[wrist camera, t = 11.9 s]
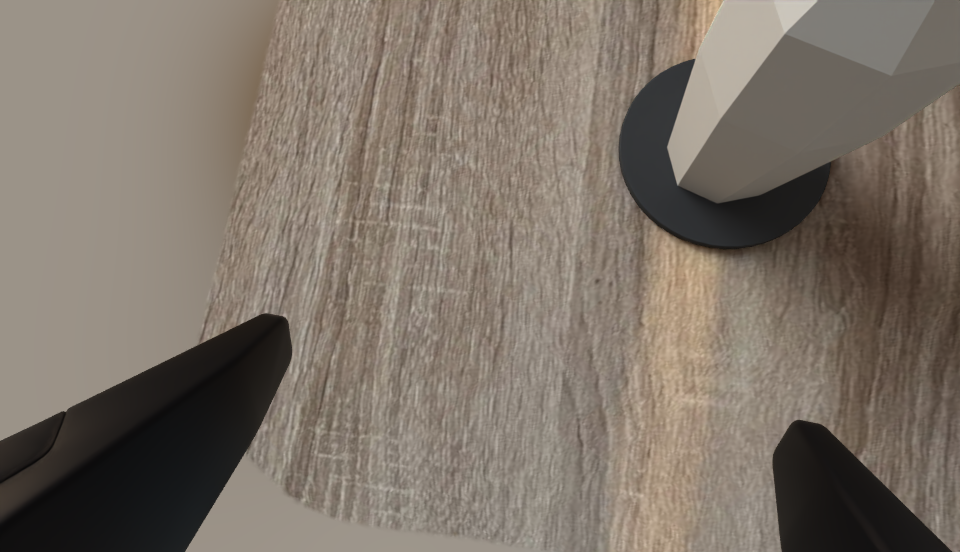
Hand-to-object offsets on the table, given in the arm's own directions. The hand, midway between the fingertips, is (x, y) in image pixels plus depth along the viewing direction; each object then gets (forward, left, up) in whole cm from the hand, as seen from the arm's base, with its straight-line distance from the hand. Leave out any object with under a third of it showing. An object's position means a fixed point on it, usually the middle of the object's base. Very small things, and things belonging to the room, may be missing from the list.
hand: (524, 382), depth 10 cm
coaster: (+13, -5, -14) cm, 19 cm away
